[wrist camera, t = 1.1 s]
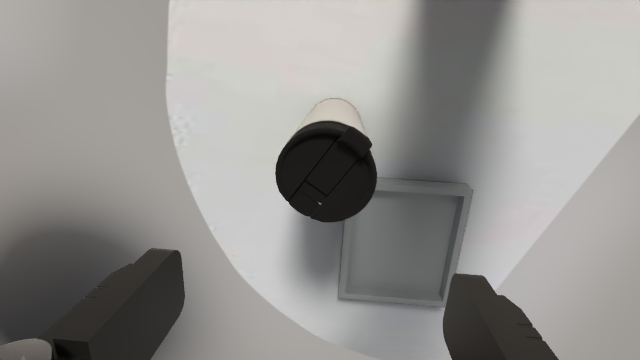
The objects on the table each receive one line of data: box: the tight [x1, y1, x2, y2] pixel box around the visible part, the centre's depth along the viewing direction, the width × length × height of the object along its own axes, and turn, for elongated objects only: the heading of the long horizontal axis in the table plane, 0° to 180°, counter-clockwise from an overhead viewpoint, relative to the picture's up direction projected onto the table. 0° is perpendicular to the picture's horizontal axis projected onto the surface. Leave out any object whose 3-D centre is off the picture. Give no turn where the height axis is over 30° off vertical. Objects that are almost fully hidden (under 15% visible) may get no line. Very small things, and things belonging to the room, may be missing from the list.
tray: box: [339, 178, 473, 307], centre depth 41 cm, size 16×14×2 cm
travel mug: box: [275, 98, 377, 222], centre depth 29 cm, size 6×7×20 cm
